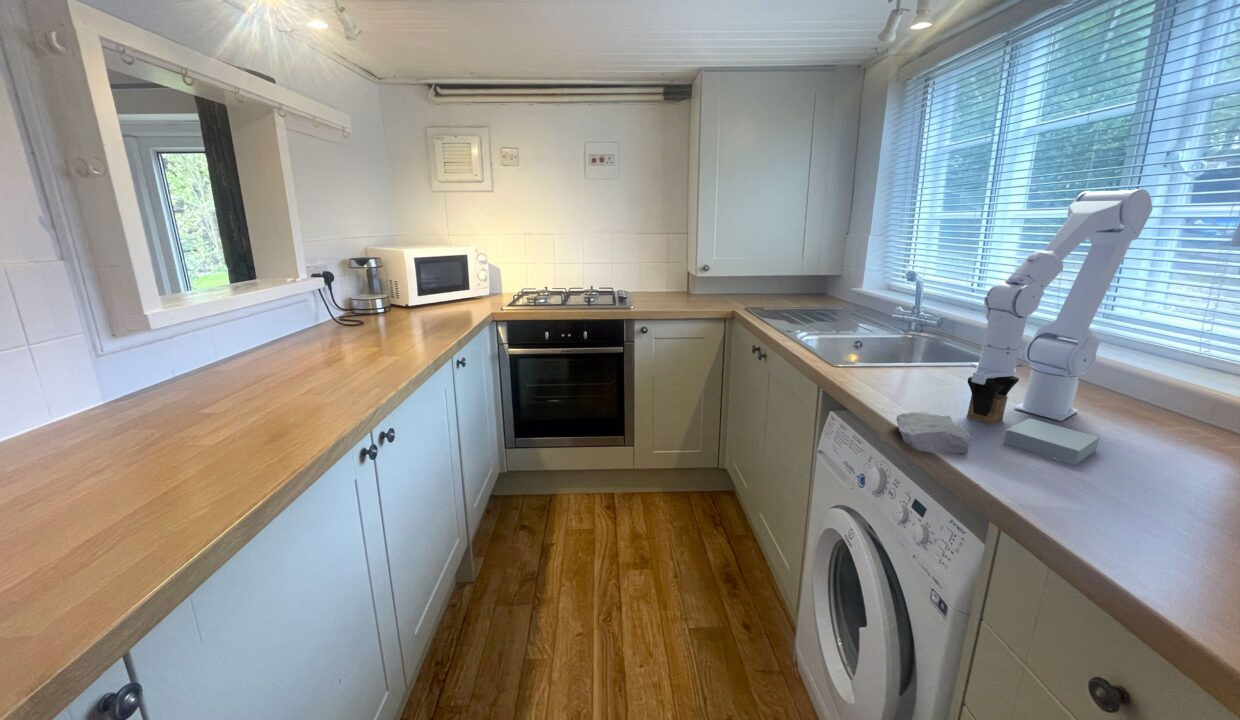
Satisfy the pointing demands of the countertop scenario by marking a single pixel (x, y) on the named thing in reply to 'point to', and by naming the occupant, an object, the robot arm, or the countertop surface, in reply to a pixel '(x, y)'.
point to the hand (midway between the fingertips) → (985, 411)
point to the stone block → (933, 433)
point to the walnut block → (994, 413)
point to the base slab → (1052, 440)
